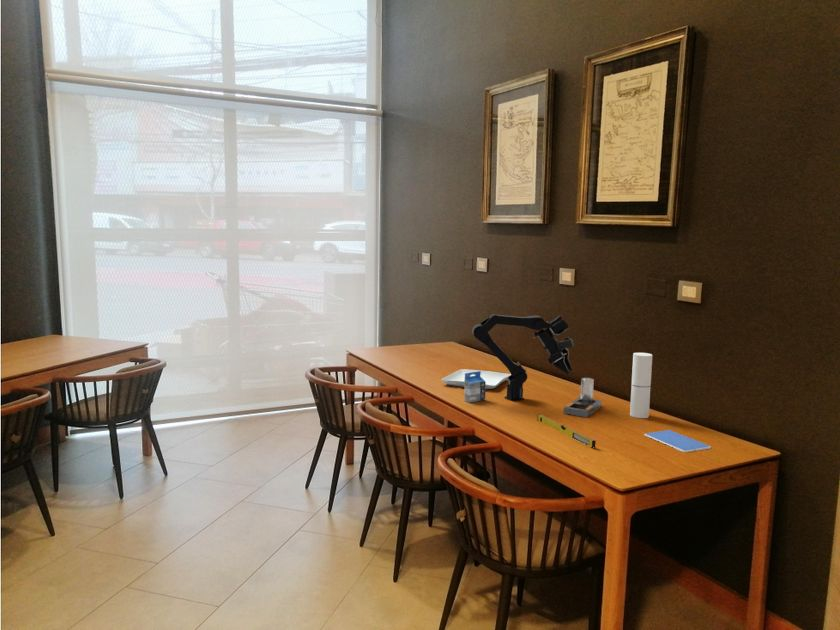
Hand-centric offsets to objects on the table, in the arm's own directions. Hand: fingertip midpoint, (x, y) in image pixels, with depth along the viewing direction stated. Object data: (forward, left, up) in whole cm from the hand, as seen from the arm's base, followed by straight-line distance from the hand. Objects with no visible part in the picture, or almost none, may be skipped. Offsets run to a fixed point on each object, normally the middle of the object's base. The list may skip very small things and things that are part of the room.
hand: (569, 371), depth 266 cm
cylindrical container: (+11, -28, -14) cm, 33 cm away
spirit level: (-32, -31, -14) cm, 46 cm away
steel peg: (+1, -9, -13) cm, 16 cm away
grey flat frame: (-3, -11, -13) cm, 18 cm away
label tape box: (-34, +22, -14) cm, 43 cm away
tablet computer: (-3, -56, -14) cm, 58 cm away
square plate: (-14, +48, -14) cm, 52 cm away
